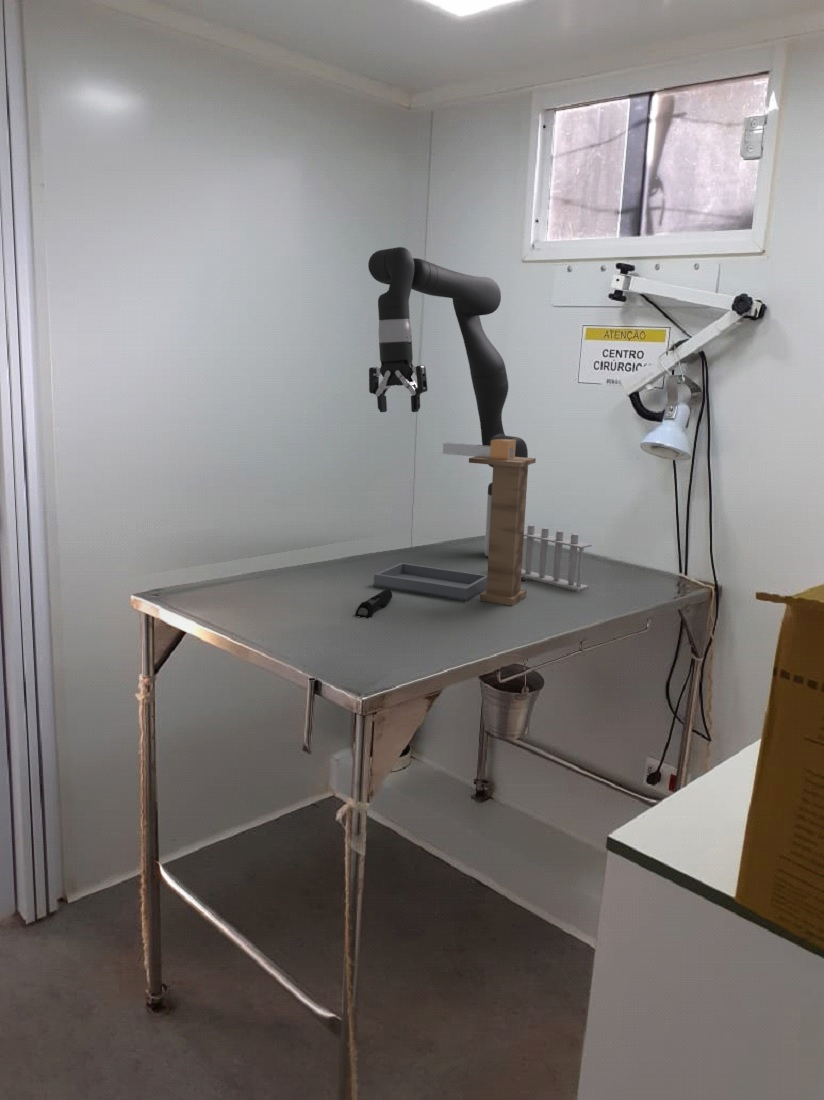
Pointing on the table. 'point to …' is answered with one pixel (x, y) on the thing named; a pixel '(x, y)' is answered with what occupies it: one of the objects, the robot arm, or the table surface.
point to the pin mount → (506, 529)
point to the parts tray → (431, 581)
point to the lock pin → (483, 449)
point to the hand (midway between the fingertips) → (399, 412)
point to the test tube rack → (557, 559)
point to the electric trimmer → (374, 603)
